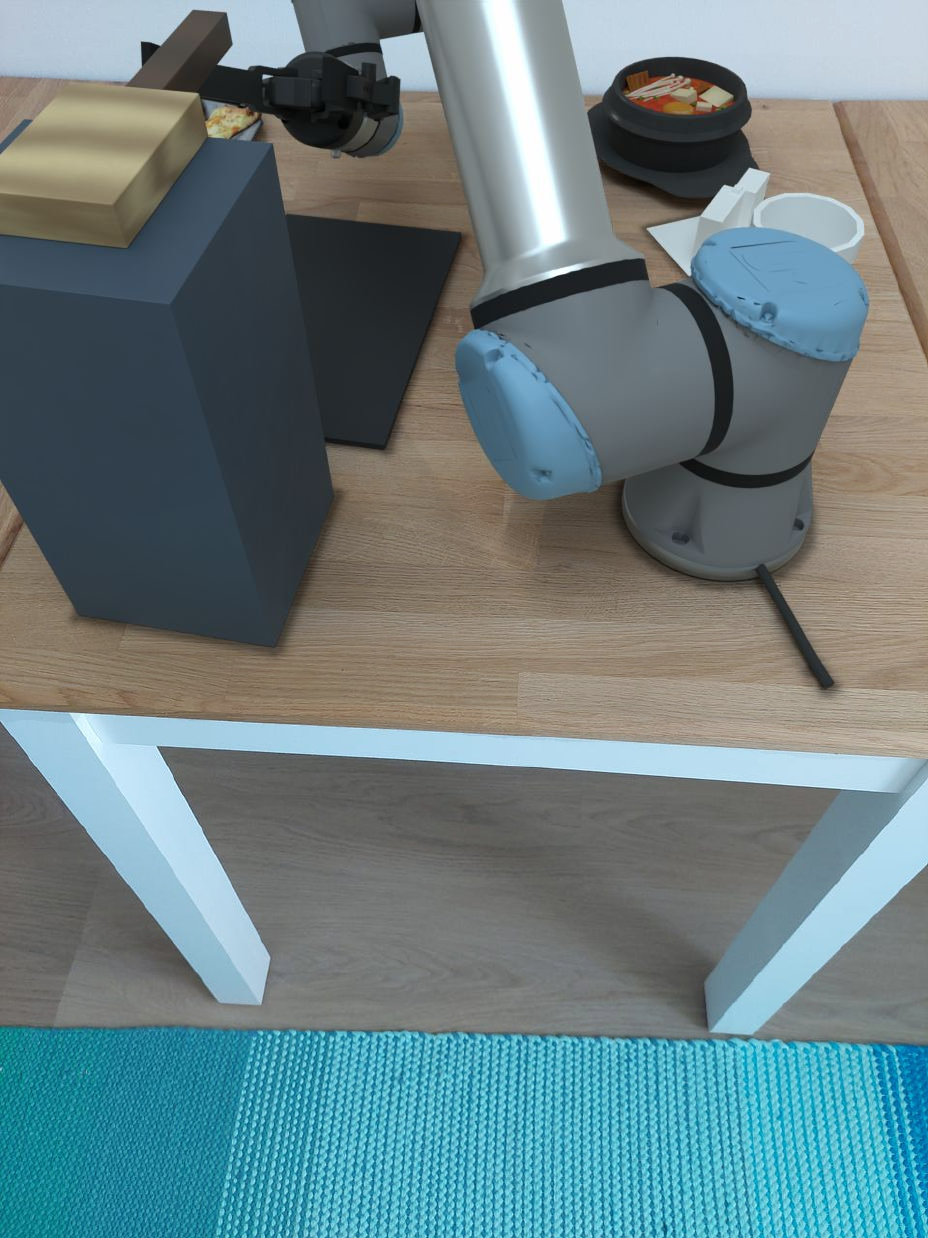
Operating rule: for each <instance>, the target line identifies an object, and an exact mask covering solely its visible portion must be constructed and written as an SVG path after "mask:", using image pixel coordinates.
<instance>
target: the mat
mask: <svg viewBox="0 0 928 1238" xmlns="http://www.w3.org/2000/svg"><path fill="white" fill-rule="evenodd" d="M285 216H286V222H287V227H288V233H289V239H290V245H291V250H292V256H293V262H294V268H295V273H296V279H297V285H298V291H299V296H300V302H301V308H302V314H303V319H304V325H305V331H306V337H307V342H308V348H309V354H310V360H311V365H312V371H313V377H314V383H315V388H316V394H317V400H318V406H319V411H320V417H321V423H322V429H323V435H324V440H325V443H333V444H338V445H339V444H340V445H345V446H346V445H347V446H353V447H360V448H361V447H362V448H369V449H376V450H383V451H384V450H385V451H386V449H387V448H386V447H387V445H388V442H389V439H390V436H391V434H392V430H393V429H394V426H395V423H396V420H397V418H398V414H399V412H400V409H401V406H402V404H403V400H404V398H405V395H406V393H407V390H408V388H409V385H410V384H409V383H410V381H411V379H412V375H413V373H414V370H415V367H416V365H417V362H418V359H419V357H420V354H421V351H422V348H423V346H424V342H425V339H426V336H427V334H428V331H429V328H430V325H431V322H432V320H433V317H434V314H435V311H436V310H437V306H438V304H439V300H440V298H441V295H442V292H443V289H444V287H445V285H446V282H447V279H448V275H449V272H450V270H451V267H452V265H453V262H454V259H455V256H456V254H457V250H458V248H459V245H460V243H461V239H462V231H454V230H453V231H452V230H444V229H434V228H425V227H417V226H416V227H415V226H407V225H406V226H405V225H397V224H388V223H387V224H386V223H379V222H370V221H369V222H368V221H360V220H351V219H350V220H349V219H342V218H341V219H340V218H330V217H324V216H323V217H322V216H321V217H320V216H312V215H302V214H294V213H293V214H292V213H285Z"/></svg>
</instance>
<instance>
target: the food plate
mask: <svg viewBox="0 0 928 1238" xmlns="http://www.w3.org/2000/svg"><path fill="white" fill-rule="evenodd" d="M200 101H201V105H202V110H203V114H204V118H205V123H206V127H207V132H208V137H215V138H226V139H236V140H246V141H255V139H256V138H257V136H258V134H259V133H260V131H261V129H262V127H263V125H264V121H263V118H262V117H263V113H257V112H252V111H250V110H249V108H248V107H246V108H244V109H240V108H238V107H237V106H232V105H228V104H224V103H218V102H212V101H207V100H201V99H200Z"/></svg>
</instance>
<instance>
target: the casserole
mask: <svg viewBox="0 0 928 1238" xmlns="http://www.w3.org/2000/svg"><path fill="white" fill-rule="evenodd" d="M748 98H749V97H748V89H747V85H746V83H745V82H744V80H743V79H742V78H741V77H740V76H739V75H738V74H737V73H736V72H734V71H732V70H731V69H728V67H725V66H723V65H721V64H718V63H716V62H712V61H708V60H705V59H699V58H695V57H687V56H658V57H657V56H656V57H652V58H651V57H650V58H645V59H642V60H638V61H635V62H632V63H630V64H628V65H626V66H624V67H623V68H622V69H620V70H619V71H618V72H617V73H616V75H615V76H614V78H613V80H612V82H611V85H610V86H609V87H608V88H607V89H606V90H605V92H604V93H603V95H602V99H601V101H600V102H598V103H596V104H594V105H593V106H592V107H590V108H589V109H588V110H587V115H588V120H589V124H590V129H591V133H592V138H593V142H594V147H595V151H596V156H597V158H599V159H600V160H601V161H602V163H604V164H606V165H607V166H608V167H610V168H611V169H613V170H615V171H617V172H619V173H621V174H623V175H625V176H628V177H631V178H633V179H635V180H639V181H642V182H645V183H648V184H650V185H653V186H654V187H656V188H658V189H660V190H662V191H663V192H665V193H668V194H671V195H672V196H675V197H679V198H683V199H706V198H707V199H708V198H714V197H715V196H716V195H717V194H718V192H719V191H720V190H721V188H722V187H723V186H724V185H727V186H730V187H734V186H735V185H737V184H738V182H739V181H740V180H741V178H742V177H743V176H744V174H745V173H746V172H747V170H748V169H749V168H752V169H756V170H760V171H761V169H760V167H759V165H758V163H757V162H756V160H755V159H754V156H752V151H751V147H750V143H749V140H748V137H747V136H746V135H745V133H744V131H743V130H742V128H743V127H745V126H746V124H748V122H749V121H750V119H751V118H752V114H753V113H752V112H753V107H752V103H751V101H750V100H749V99H748Z"/></svg>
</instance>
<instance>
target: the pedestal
mask: <svg viewBox="0 0 928 1238" xmlns="http://www.w3.org/2000/svg"><path fill="white" fill-rule="evenodd" d="M33 120H34V119H29V118H25V119H24V118H23V120H22V121H20V123H19V124H18V125H17V126H16V127H15V128H14V129H13V130H12V131H11V132H10V133H9V134H8V135H7V136H6V137H5V138H4V139H3V140H2V141H1V142H0V154H1V153H2V152H3V151H4V150H5V149H6V148H7V147H8V146H9V145H10V144H11V143H12V142H13V141H14V140H15V139H16V138H17V137H18V136H19V135H20V134H21V133H22V132H23V131H24V130H25V129H26V127H27V126H28V125H29V124H30V123H31V122H32V121H33ZM274 147H275V146H274V143H273V142H268V141H267V142H266V141H265V142H264V141H255V140H254V141H246V140H236V139H226V138H215V137H208V138H207V139H206V140H205V142H204V143H203V144H202V146H201V147H200V149H199V150H198V151H197V153H196V154H195V155H194V157H193V158H192V160H191V161H190V162H189V164H188V165H187V167H186V168H185V169H184V171H183V172H182V173H181V175H180V176H179V178H178V179H177V180H176V182H175V183H174V185H173V186H172V187H171V189H170V190H169V191H168V193H167V194H166V196H165V197H164V198H163V200H162V201H161V202H160V204H159V205H158V207H157V208H156V209H155V211H154V212H153V214H152V215H151V216H150V218H149V219H148V220H147V222H146V223H145V225H144V226H143V227H142V229H141V230H140V231H139V233H138V234H137V236H136V237H135V238H134V240H133V241H132V243H131V244H130V245H129V247H128V248H126V249H124V248H116V247H107V246H98V245H89V244H80V243H72V242H63V241H54V240H45V239H36V238H28V237H19V236H10V235H1V234H0V483H1V485H2V486H3V487H4V490H5V491H6V493H7V494H8V496H9V498H10V500H11V501H12V503H13V505H14V507H15V508H16V510H17V512H18V514H19V515H20V517H21V519H22V521H23V522H24V524H25V525H26V527H27V529H28V531H29V532H30V534H31V536H32V537H33V540H34V541H35V543H36V545H37V546H38V548H39V550H40V552H41V553H42V555H43V557H44V558H45V560H46V562H47V564H48V565H49V567H50V569H51V571H52V572H53V574H54V576H55V578H56V579H57V581H58V583H59V585H60V586H61V588H62V589H63V591H64V593H65V594H66V597H67V598H68V600H69V602H70V603H71V605H72V607H73V608H74V610H75V612H76V614H77V615H78V616H82V617H90V618H96V619H101V620H108V621H113V622H119V623H125V624H130V625H138V626H143V627H149V628H155V629H161V630H167V631H174V632H179V633H186V634H190V635H191V634H192V635H197V636H204V637H208V638H215V639H221V640H226V641H234V642H239V643H245V644H250V645H256V646H257V645H258V646H263V647H269V648H276V646H277V644H278V641H279V638H280V637H281V633H282V630H283V628H284V626H285V624H286V621H287V619H288V616H289V613H290V610H291V607H292V605H293V603H294V600H295V597H296V595H297V593H298V590H299V588H300V585H301V583H302V579H303V577H304V574H305V572H306V569H307V566H308V564H309V562H310V560H311V557H312V553H313V551H314V549H315V546H316V543H317V541H318V540H319V539H318V538H319V535H320V534H321V530H322V528H323V525H324V523H325V520H326V518H327V515H328V513H329V510H330V507H331V505H332V502H333V500H334V499H335V491H334V486H333V482H332V476H331V475H332V474H331V470H330V469H331V468H330V464H329V457H328V453H327V447H326V442H325V440H324V435H323V429H322V423H321V417H320V411H319V406H318V400H317V394H316V388H315V383H314V377H313V371H312V365H311V360H310V354H309V348H308V342H307V337H306V331H305V325H304V319H303V314H302V308H301V302H300V296H299V291H298V285H297V279H296V273H295V268H294V262H293V256H292V250H291V245H290V239H289V233H288V227H287V222H286V210H285V204H284V200H283V199H284V198H283V194H282V188H281V187H282V186H281V182H280V176H279V171H278V165H277V160H276V159H277V158H276V154H275V148H274Z"/></svg>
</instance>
